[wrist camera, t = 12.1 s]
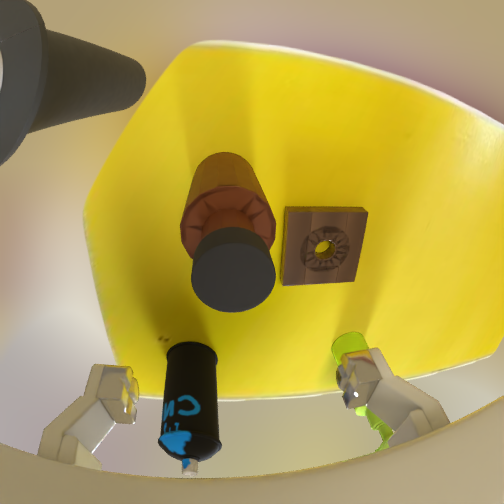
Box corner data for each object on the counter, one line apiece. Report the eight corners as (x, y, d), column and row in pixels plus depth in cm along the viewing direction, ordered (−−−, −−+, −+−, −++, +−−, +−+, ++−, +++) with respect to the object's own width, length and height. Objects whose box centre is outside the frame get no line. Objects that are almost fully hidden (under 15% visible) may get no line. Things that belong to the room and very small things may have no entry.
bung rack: (279, 278, 40) (282, 286, 38) (285, 206, 35) (288, 212, 33) (349, 274, 41) (354, 281, 39) (362, 207, 36) (368, 212, 34)
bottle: (195, 211, 34) (180, 307, 19) (192, 153, 31) (168, 209, 16) (254, 210, 35) (282, 303, 20) (255, 151, 32) (291, 206, 17)
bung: (197, 276, 21) (195, 314, 17) (192, 214, 19) (187, 243, 15) (264, 274, 21) (273, 310, 18) (266, 212, 19) (278, 241, 16)
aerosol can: (227, 361, 47) (237, 475, 29) (190, 379, 48) (189, 485, 31) (194, 333, 43) (190, 458, 26) (156, 354, 45) (142, 469, 27)
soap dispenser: (328, 362, 50) (363, 460, 33) (334, 334, 47) (377, 440, 29) (358, 356, 50) (398, 448, 33) (366, 329, 47) (416, 427, 30)
